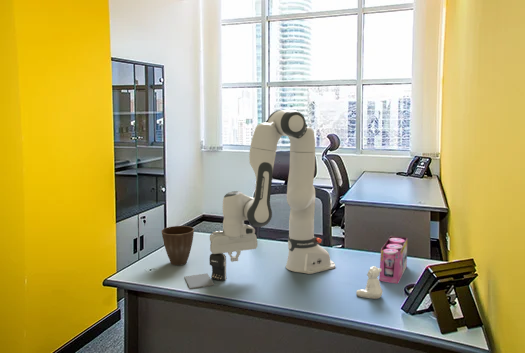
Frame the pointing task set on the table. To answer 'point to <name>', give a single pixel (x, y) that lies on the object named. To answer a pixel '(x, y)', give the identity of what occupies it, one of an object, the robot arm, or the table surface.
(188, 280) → the mat
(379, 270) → the white creature statuette
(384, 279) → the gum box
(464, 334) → the table surface
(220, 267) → the battery charger
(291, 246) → the robot arm
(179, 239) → the plant pot
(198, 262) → the table surface
